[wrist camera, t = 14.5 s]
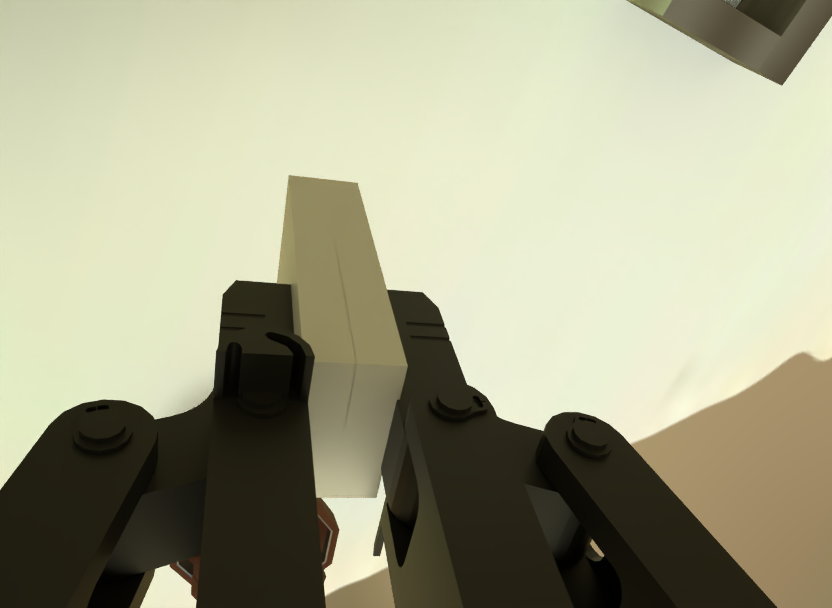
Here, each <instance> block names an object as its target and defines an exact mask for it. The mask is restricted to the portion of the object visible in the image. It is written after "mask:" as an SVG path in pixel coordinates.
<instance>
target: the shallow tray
mask: <svg viewBox="0 0 832 608" xmlns="http://www.w3.org/2000/svg"><path fill="white" fill-rule="evenodd" d="M627 1H629V2H630V3H632V4H634V5H636V6H637V7H639V8H641V9H642V10H644V11H646V12H648V13H649V14H651V15H653V16H654V17H656V18H658V19H660V20H661V21H663V22H665V23H667V24H668V25H670V26H672V27H673V28H675V29H677V30H679V31H680V32H682V33H684V34H686V35H687V36H689V37H691V38H692V39H694V40H696V41H698V42H699V43H701V44H703V45H705V46H706V47H708V48H710V49H711V50H713V51H715V52H717V53H718V54H720V55H722V56H723V57H725V58H727V59H729V60H730V61H732V62H734V63H736V64H738V65H740V66H742V67H744V68H746V69H748V70H751V71H753V72H755V73H757V74H759V75H761V76H763V77H765V78H767V79H769V80H771V81H773V82H775V83H778V84H780V85H783V84H784V82H785V81H786V79H787V78H788V77H789V75H790V74H791V72H792V71H793V70H794V68H795V67H796V65H797V64H798V63H799V61H800V60H801V58H802V57H803V56H804V54H805V53H806V51H807V50H808V49H809V47H810V46H811V44H812V43H813V42H814V40H815V39H816V37H817V36H818V35H819V33H820V32H821V30H822V29H823V28H824V26H825V25H826V24H827V22H828V21H829V19H830V18H831V17H832V0H742V1H741V3H740V4H739V6H738V7H737V9H736V8H734V7H732V6H731V5H729V4H727V3H726V2H724V1H723V0H627Z"/></svg>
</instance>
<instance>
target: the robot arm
mask: <svg viewBox="0 0 832 608" xmlns="http://www.w3.org/2000/svg"><path fill="white" fill-rule="evenodd" d="M381 476H382V477H383V482H384V488H385V493H386V498H385V502H384V506H383V511H382V515H381V519H380V523H379V527H378V531H377V535H376V539H375V543H374V552H373V556H380V554H381V550H382V546H383V542H384V544H385V550H386V556H387V562H388V567H389V573H390V579H391V585H392V591H393V597H394V603H395V608H777V607H776V606H775V604H774V603H773V602H772V601H771V600H770V599H769V598H768V597H767V596H766V594H765V593H764V592H763V591H762V590H761V589H760V588H759V587H758V586H757V584H755V582H754V581H753V580H752V579H751V578H750V577H749V576H748V575H747V573H746V572H745V571H744V570H743V569H742V568H741V567H740V566H739V565H738V563H737V562H736V561H735V560H734V559H733V558H732V557H731V556H730V555H729V553H728V552H727V551H726V550H725V549H724V548H723V547H722V546H721V545H720V543H719V542H718V541H717V540H716V539H715V538H714V537H713V536H712V535H711V534H710V532H709V531H708V530H707V529H706V528H705V527H704V526H703V525H702V524H701V522H700V521H699V520H698V519H697V518H696V517H695V516H694V515H693V514H692V512H691V511H690V510H689V509H688V508H687V507H686V506H685V505H684V504H683V502H682V501H681V500H680V499H679V498H678V497H677V496H676V495H675V494H674V493H673V491H672V490H671V489H670V488H669V487H668V486H667V485H666V484H665V483H664V482H663V481H662V479H661V478H660V477H659V476H658V475H657V474H656V473H655V471H653V469H652V468H651V467H650V466H649V465H648V464H647V463H646V461H644V459H643V458H642V457H641V456H640V455H639V454H638V453H637V452H636V450H635V449H634V448H633V447H632V446H631V445H630V444H629V443H628V442H627V440H626V439H625V438H624V437H623V436H622V435H621V434H620V433H619V432H618V431H616V430H615V429H614V428H613V427H612V426H610V425H609V424H608V423H606V422H604V421H602V420H600V419H598V418H596V417H594V416H590V415H586V414H583V413H579V412H563V413H560V414H558V415H555V416H552V418H551V419H550V420H549V421H548V423H547V424H546V426H545V429H544V431H541V430H537V429H534V428H530V427H526V426H522V425H519V424H515V423H512V422H509V421H506V420H503V419H501V418H499V417H497V415H496V412H495V410H494V408H493V406H492V405H491V403H490V402H489V400H488V399H487V397H486V396H484V395H483V394H482V393H480V392H479V391H478V390H477V389H475V388H473V387H471V386H469V385H467V383H466V381H465V378H464V375H463V373H462V370H461V367H460V365H459V362H458V359H457V357H456V354H455V351H454V349H453V346H452V343H451V341H449V335H448V332H447V330H446V328H445V327H444V322H443V319H442V316H441V314H440V311H439V308H438V307H437V306H436V305H435V304H434V303H433V302H432V301H431V300H430V299H429V298H428V297H427V296H426V295H425V294H424V293H423V292H410V291H397V290H387V289H386V285H385V281H384V278H383V274H382V271H381V267H380V263H379V260H378V256H377V252H376V249H375V245H374V241H373V238H372V234H371V230H370V227H369V223H368V220H367V216H366V212H365V209H364V205H363V201H362V198H361V194H360V190H359V187H358V183H353V182H344V181H335V180H326V179H318V178H309V177H300V176H291V175H289V179H288V188H287V197H286V206H285V215H284V224H283V233H282V242H281V251H280V260H279V270H278V279H277V283H265V282H252V281H238V280H236V281H235V282H234V283H233V284H232V285H231V286H230V287H229V288H228V290H227V291H226V292H225V293H224V294H223V298H222V310H221V322H220V333H219V345H218V349H217V351H216V363H215V379H214V388H213V391H212V392H211V394H210V395H209V397H208V398H207V399H206V400H205V401H203V402H202V403H201V404H200V405H198V406H197V407H195V408H193V409H191V410H189V411H187V412H184V413H181V414H177V415H174V416H170V417H165V418H160V419H155V420H154V417H153V416H152V415H151V414H150V413H148V412H147V411H146V410H145V409H144V408H142V407H141V406H138V405H135V404H132V403H129V402H126V401H120V400H98V401H93V402H87V403H82V404H80V405H78V406H76V407H73V408H71V409H69V410H67V411H64V412H63V413H62V414H61V415H60V416H58V417H57V418H56V419H55V420H54V421H53V422H52V423H51V424H50V425H49V426H48V427H47V429H46V430H45V431H44V433H43V434H42V435H41V437H40V438H39V439H38V441H37V442H36V443H35V445H34V446H33V447H32V449H31V450H30V451H29V453H28V454H27V455H26V457H25V458H24V459H23V461H22V462H21V463H20V465H19V466H18V467H17V469H16V470H15V471H14V473H13V474H12V475H11V476H10V478H9V479H8V480H7V482H6V483H5V484H4V486H3V487H2V488H1V490H0V608H140V606H141V604H142V602H143V599H144V597H145V595H146V592H147V590H148V588H149V586H150V583H151V581H152V579H153V577H154V572H155V569H156V568H159V567H162V566H166V565H169V564H172V563H175V562H179V561H182V560H185V559H189V558H192V557H195V556H198V555H200V566H199V579H198V591H197V603H196V608H326V605H325V593H324V582H323V570H322V558H321V547H320V535H319V523H318V512H317V500H316V498H376V497H377V493H378V489H379V485H380V480H381ZM592 539H593V540H594V542H595V543H596V544H597V546H598V547H599V548H600V550H601V551H602V552H603V554H604V557H601V556H599V555H598V553H597V552H595V550H594V549H593V548H592V546H591V545H590V542H591V540H592Z"/></svg>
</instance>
